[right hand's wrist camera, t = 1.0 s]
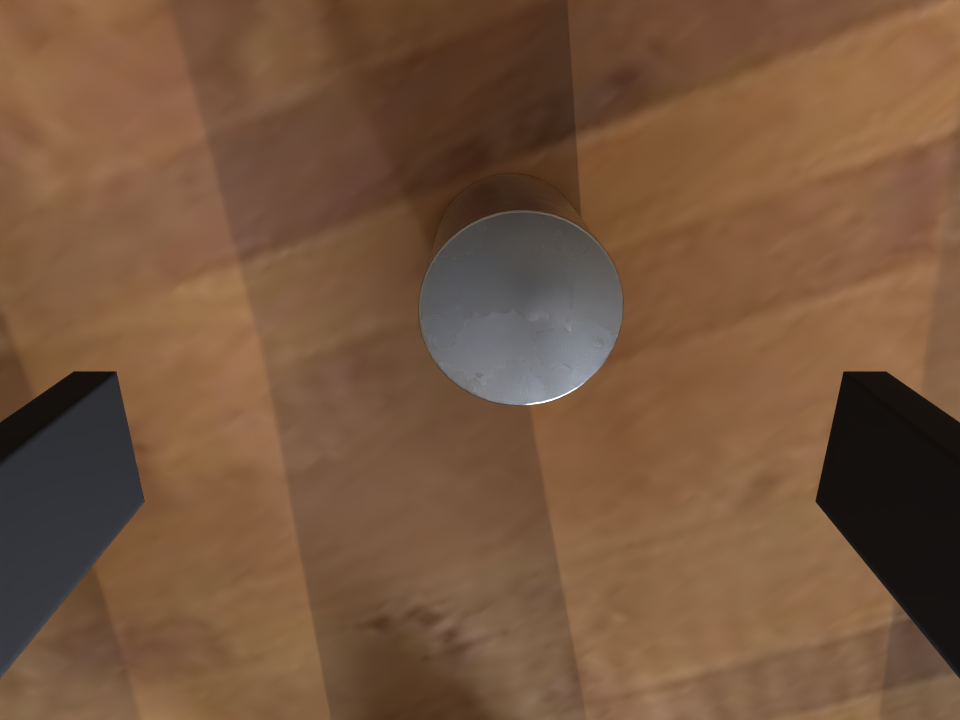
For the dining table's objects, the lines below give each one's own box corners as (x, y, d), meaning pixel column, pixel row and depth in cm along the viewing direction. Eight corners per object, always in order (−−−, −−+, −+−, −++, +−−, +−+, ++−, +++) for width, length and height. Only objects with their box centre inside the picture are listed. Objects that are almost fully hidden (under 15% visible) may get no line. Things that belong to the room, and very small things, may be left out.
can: (609, 210, 28) (661, 261, 20) (543, 339, 30) (567, 433, 22) (470, 147, 27) (466, 174, 19) (413, 285, 30) (388, 362, 21)
